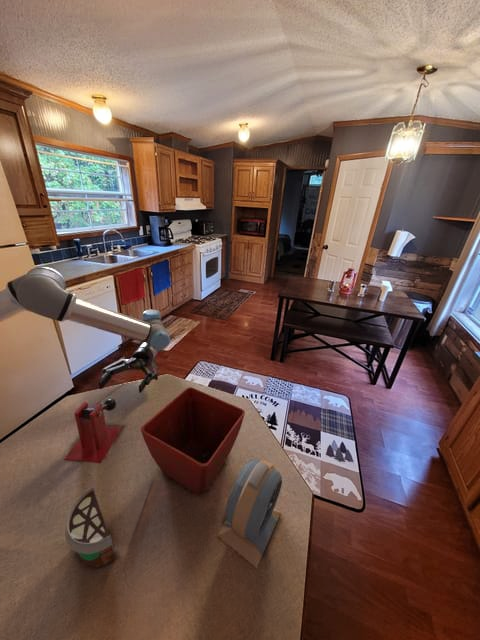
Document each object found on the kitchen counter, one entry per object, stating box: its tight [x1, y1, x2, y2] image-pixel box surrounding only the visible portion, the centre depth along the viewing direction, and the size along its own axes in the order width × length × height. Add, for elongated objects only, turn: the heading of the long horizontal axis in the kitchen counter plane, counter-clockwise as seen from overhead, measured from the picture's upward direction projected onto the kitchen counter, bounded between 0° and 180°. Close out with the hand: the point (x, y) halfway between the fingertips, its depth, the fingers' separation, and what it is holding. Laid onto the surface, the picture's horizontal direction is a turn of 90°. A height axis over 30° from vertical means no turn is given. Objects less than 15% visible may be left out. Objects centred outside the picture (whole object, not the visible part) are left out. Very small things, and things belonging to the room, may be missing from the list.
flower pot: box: [140, 386, 246, 497], centre depth 67 cm, size 19×19×17 cm
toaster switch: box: [63, 401, 123, 464], centre depth 70 cm, size 12×10×14 cm
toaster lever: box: [82, 398, 117, 419], centre depth 74 cm, size 14×4×4 cm
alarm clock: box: [217, 458, 283, 569], centre depth 54 cm, size 14×10×18 cm
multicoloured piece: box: [65, 486, 116, 569], centre depth 49 cm, size 12×6×10 cm, turn 42°
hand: (120, 387), depth 85 cm, fingers open, 13 cm apart
